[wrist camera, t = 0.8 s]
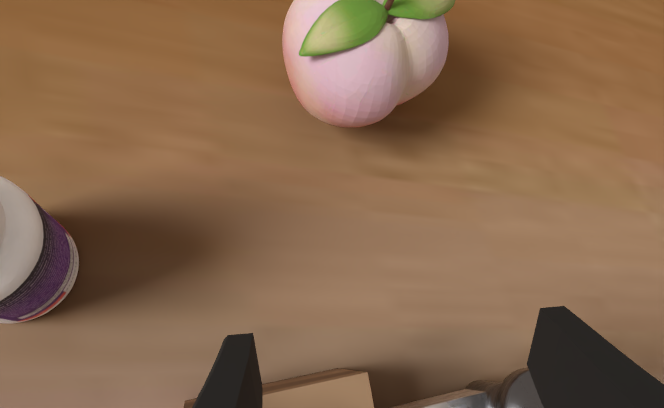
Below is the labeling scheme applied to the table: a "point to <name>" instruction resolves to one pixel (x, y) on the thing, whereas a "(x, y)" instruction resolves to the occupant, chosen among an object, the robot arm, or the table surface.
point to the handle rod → (488, 395)
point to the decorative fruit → (363, 55)
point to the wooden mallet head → (317, 391)
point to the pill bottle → (32, 257)
